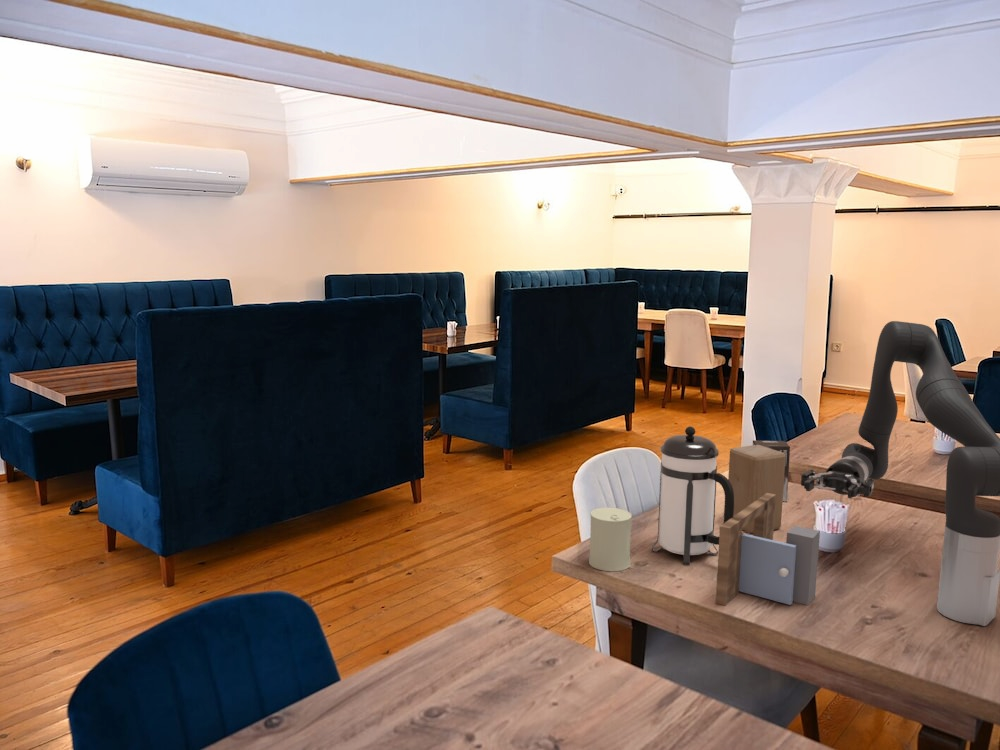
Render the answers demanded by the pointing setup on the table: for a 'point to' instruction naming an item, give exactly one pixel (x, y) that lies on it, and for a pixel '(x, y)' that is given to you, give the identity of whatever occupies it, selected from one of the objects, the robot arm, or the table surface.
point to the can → (610, 539)
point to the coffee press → (690, 495)
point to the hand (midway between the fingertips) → (828, 490)
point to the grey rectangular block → (804, 562)
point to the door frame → (732, 541)
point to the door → (767, 568)
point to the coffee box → (785, 448)
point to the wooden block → (756, 478)
